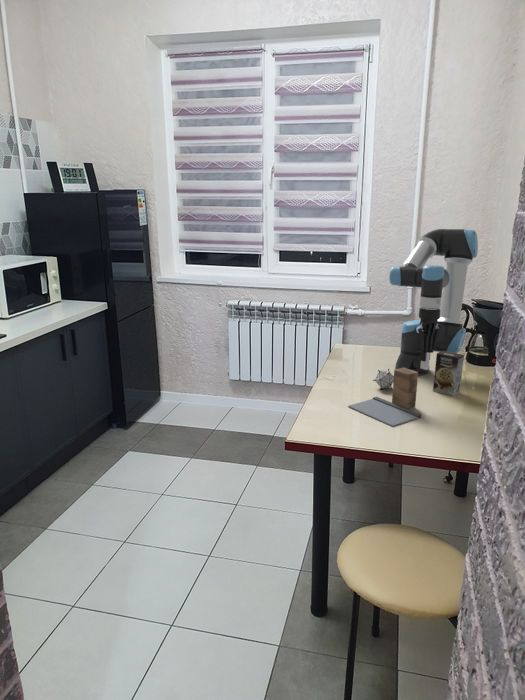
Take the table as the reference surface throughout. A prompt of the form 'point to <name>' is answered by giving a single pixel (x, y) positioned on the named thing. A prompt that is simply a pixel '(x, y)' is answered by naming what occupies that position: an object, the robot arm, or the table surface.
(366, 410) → the grey flat panel
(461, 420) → the table surface
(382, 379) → the game die
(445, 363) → the coffee box
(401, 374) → the walnut block
